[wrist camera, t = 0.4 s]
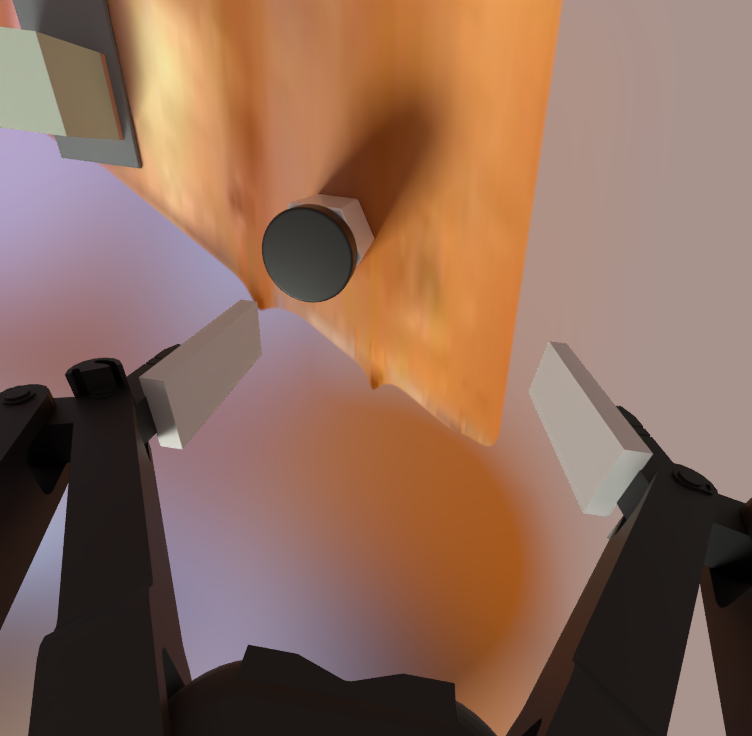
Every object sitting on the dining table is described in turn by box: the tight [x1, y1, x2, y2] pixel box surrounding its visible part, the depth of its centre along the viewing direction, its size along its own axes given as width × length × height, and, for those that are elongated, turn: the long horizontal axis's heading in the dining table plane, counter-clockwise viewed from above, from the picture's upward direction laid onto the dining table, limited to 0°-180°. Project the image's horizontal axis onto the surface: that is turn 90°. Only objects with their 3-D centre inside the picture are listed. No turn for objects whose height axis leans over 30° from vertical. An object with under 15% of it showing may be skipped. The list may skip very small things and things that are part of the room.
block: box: [0, 27, 124, 140], centre depth 32 cm, size 7×7×7 cm
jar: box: [262, 194, 374, 302], centre depth 35 cm, size 9×8×12 cm
